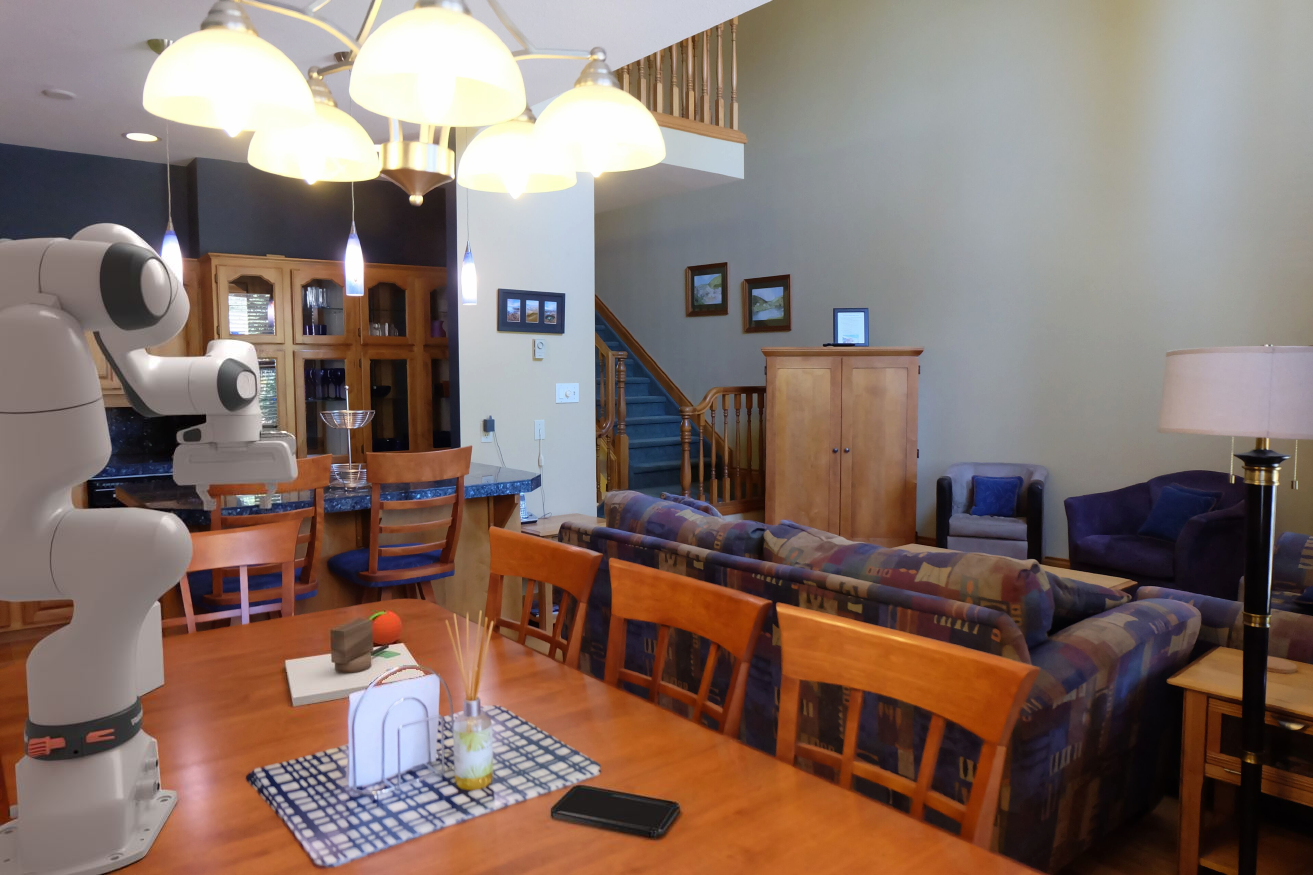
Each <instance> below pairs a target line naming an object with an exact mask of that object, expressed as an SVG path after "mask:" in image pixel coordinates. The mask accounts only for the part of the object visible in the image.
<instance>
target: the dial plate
mask: <svg viewBox="0 0 1313 875" xmlns="http://www.w3.org/2000/svg"><path fill="white" fill-rule="evenodd" d="M388 645H389V648H387V649H385V650H383V651H381V652H379V653H377V654H375V655H373V656H371V667H369V668H368V669H365V670H362V671H358V672H352V673H341V672H337V671H336V670H335V663H332V662H331V653H327V654H320V655H311V656H307V657H300V658H299V657H297V658H293V659H285V660H284V661H285V662H284V663H285V665H284V666H285V673H286V672H287V673H286V677H287V681H288V682H287V683H288V687H289V692H290V697H291V701H292V707H299V706H305V705H309V704H310V705H311V704H316V703H323V702H327V701H328V702H329V701H334V700H340V699H346V698H349V697H348V695H349V694H350V693H353V692H356V691H361V690H364V689H365V688H367V687H368V686H369V684H370V683H371V682H373V681H374V680H375V679H376V678H377V677H379V676H380V675H382V674H383V673H384V672H386V671H388V670H390V669H392V668H395V667H398V666H403V665H417V666H419V664H418V663H417V661H416V660H415V658H414V657H413V655H412V654H411V653H410V651H409V649H408V648H407V647H406V645H405V643H403V642H402V643H396V644H388ZM382 646H383V645H381V646H375V647H374V646H373V650H376V649H378V648H380V647H382ZM423 675H425V676H426V674H425V673H424V672H423V670H422V671H420V670H416V669H406V670H402V671H400V672H397V673H396V674H394V675H391V676H389V677H388V678H387V679H385V680H383V681H382V683H390V682H395V681H401V680H405V679H409V678H416V677H419V676H423Z"/></svg>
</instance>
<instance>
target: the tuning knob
mask: <svg viewBox="0 0 1313 875" xmlns="http://www.w3.org/2000/svg"><path fill="white" fill-rule="evenodd" d="M329 631H330V654H331V662H332V663H335V670H336V671H337V672H341V673H352V672H358V671H362V670H365V669H368V668H369V667H371V656H373V655H375V654H377V653H379V652H381V651H383V650H385V649H387V648H389V645H390V644H388V645H381V646H382V647H380V646H379V647H380V648H378V649H376V650H373V647H374V642H373V626H372V619H370V618H356V619H354V620H351V621H349V622H346V623H345V624H341V625H340V626H337V627H334V628H332V629H330V630H329Z"/></svg>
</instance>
